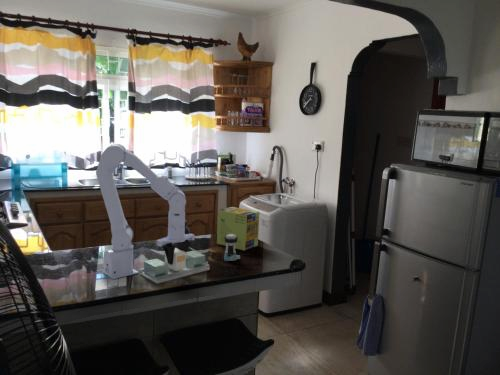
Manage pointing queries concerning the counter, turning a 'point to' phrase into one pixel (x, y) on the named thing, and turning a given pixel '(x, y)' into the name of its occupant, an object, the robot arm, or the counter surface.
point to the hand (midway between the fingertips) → (175, 262)
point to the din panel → (162, 272)
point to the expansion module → (177, 260)
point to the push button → (230, 247)
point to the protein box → (238, 227)
